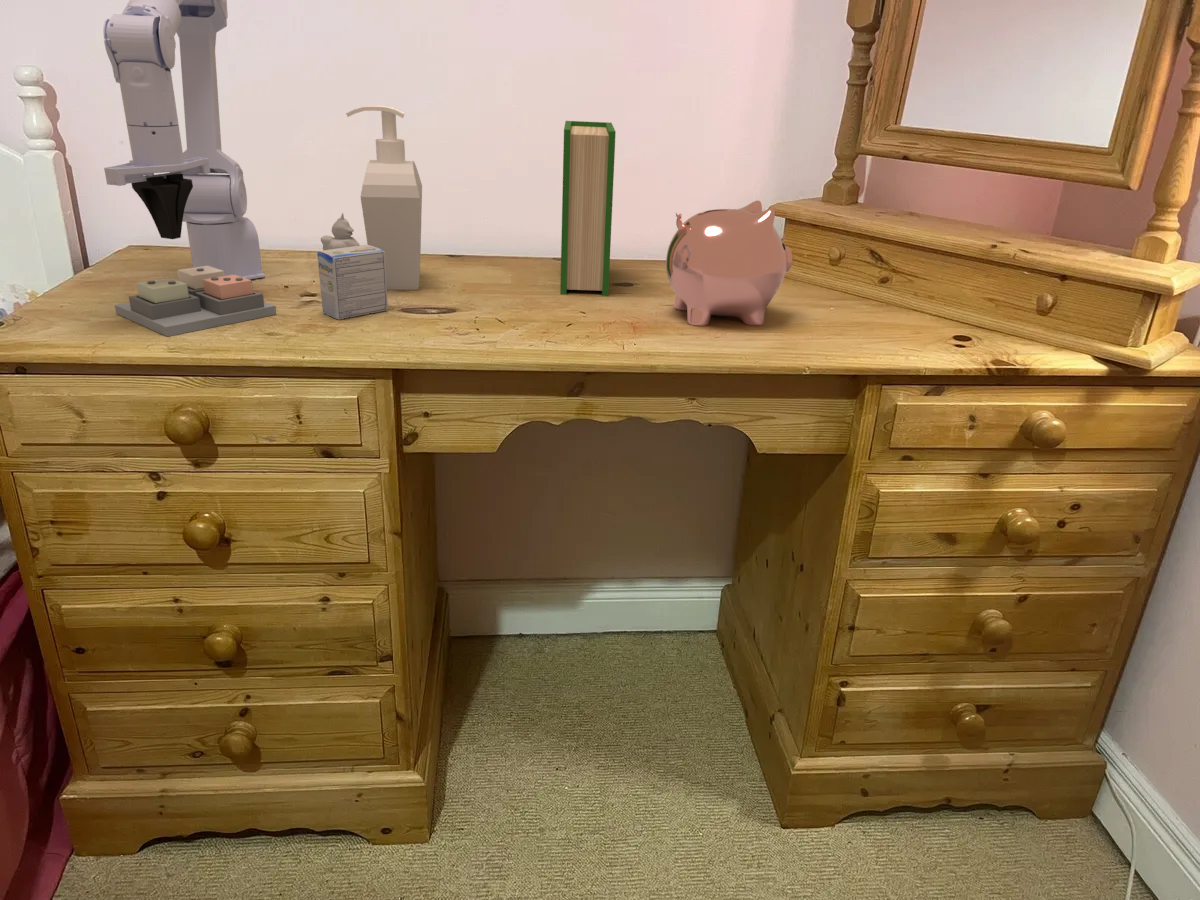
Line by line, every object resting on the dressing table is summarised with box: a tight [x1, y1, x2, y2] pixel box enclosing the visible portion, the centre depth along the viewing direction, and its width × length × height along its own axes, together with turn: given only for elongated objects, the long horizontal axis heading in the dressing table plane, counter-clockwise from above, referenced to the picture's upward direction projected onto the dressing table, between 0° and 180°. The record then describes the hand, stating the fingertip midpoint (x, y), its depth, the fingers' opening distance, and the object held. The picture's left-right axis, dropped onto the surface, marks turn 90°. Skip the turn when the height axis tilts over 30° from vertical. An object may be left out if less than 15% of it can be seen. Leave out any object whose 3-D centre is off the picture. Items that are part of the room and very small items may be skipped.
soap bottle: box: [345, 105, 423, 291], centre depth 132 cm, size 12×10×26 cm
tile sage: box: [136, 277, 189, 303], centre depth 114 cm, size 4×4×2 cm
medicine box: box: [316, 244, 389, 321], centre depth 120 cm, size 8×4×9 cm, turn 134°
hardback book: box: [559, 120, 617, 297], centre depth 139 cm, size 18×7×24 cm, turn 1°
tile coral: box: [203, 275, 254, 299], centre depth 117 cm, size 4×4×2 cm
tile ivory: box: [176, 266, 225, 289], centre depth 121 cm, size 4×4×2 cm
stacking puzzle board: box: [114, 286, 277, 337], centre depth 118 cm, size 15×14×3 cm
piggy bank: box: [665, 200, 793, 327], centre depth 125 cm, size 15×18×16 cm
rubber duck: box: [320, 212, 361, 251], centre depth 150 cm, size 5×7×8 cm
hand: (170, 237), depth 113 cm, fingers closed
